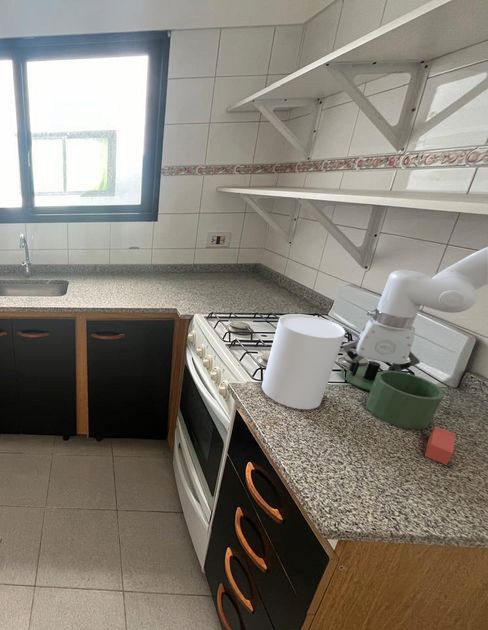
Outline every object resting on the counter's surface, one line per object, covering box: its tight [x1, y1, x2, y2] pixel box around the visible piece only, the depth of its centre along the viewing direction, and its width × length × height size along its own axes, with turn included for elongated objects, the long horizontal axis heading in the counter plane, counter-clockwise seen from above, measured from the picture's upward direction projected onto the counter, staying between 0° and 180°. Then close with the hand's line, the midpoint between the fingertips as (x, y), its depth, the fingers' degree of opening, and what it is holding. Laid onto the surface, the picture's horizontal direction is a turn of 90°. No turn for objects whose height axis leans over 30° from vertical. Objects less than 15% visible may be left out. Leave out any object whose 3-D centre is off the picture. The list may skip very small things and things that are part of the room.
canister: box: [261, 313, 346, 410], centre depth 88 cm, size 14×14×20 cm
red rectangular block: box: [424, 425, 457, 466], centre depth 72 cm, size 8×3×3 cm, turn 132°
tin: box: [365, 369, 445, 430], centre depth 82 cm, size 11×11×8 cm
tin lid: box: [340, 360, 381, 392], centre depth 95 cm, size 12×12×6 cm
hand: (369, 377), depth 95 cm, fingers open, 6 cm apart
